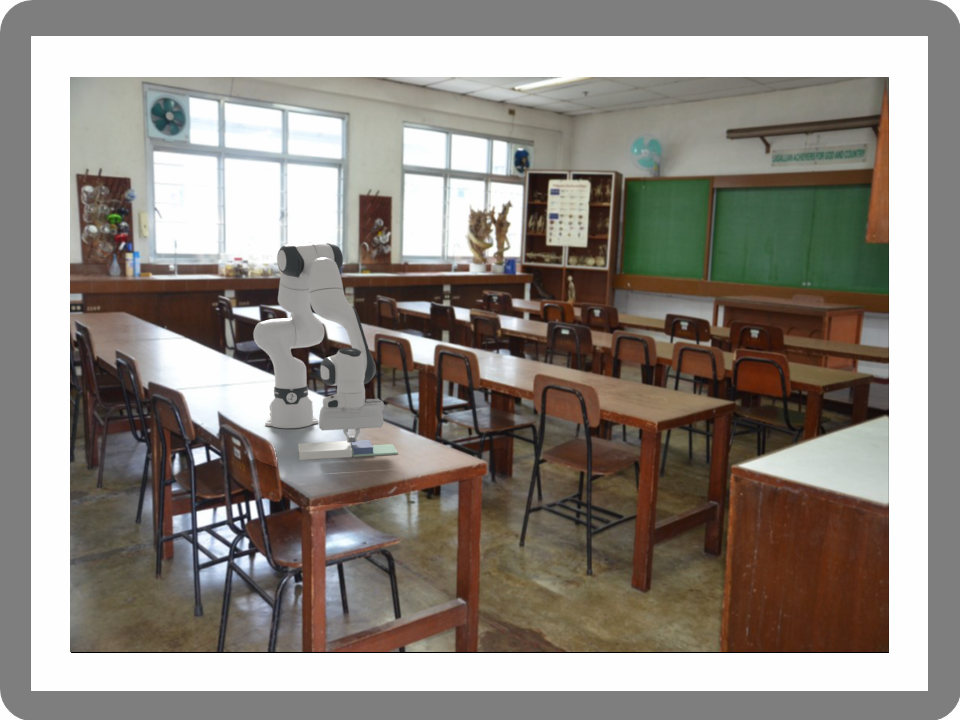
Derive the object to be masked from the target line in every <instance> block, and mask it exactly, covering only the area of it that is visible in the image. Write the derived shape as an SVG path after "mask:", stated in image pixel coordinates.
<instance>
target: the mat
mask: <svg viewBox="0 0 960 720" xmlns="http://www.w3.org/2000/svg"><path fill="white" fill-rule="evenodd" d="M372 446H373V453H370V454H354V453H353V451H352V457H353V458H355V457H356V458H357V457H375V456H376V457H377V456H390V455H391V456H392V455H398V454H399V452H398V450H397V449H396V447H395V445H394V444H393V443H390V444H389V443H388V444H372Z"/></svg>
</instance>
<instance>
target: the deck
mask: <svg viewBox="0 0 960 720" xmlns="http://www.w3.org/2000/svg"><path fill="white" fill-rule="evenodd" d="M297 446H298V458H299V461H305V460H308V461H309V460H319V459H320V460H324V459H340V458H341V459H342V458H352V457H353V454H352V448H351V443H347V440H341V441H323V442H305V443H298V445H297Z"/></svg>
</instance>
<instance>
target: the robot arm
mask: <svg viewBox="0 0 960 720" xmlns="http://www.w3.org/2000/svg"><path fill="white" fill-rule="evenodd" d="M276 257H277V259H276V260H277V261H276V262H277V263H276V264H277V266H278V269H279V271H280V272H281V273H280V278H279V285H278V295H277V303H278V305H279V306H280V307H281V309H283V310H285V311H286V312H288V313H290V316H289V317H287V318H285V317H283V318H271V319H270V318H269V319H267V320H262V321H259V322H258V323H257V324H256V325H255V328H254V329H253V333H252V334H253V340H254V342H255V344H256V346H257V347H258V348H259V349H261V350H262V351H263V352H264V353H265V354H267V355H268V357H269V358H270V361H271V362H272V365H273V371H274V382H275V384H274V385H275V386H274V387H273V393H274V395H273V396H274V399H273V400H272V401H271V402H270V404H269V411H270V413H269V418H268V419H267V420H266V421H265V424H264V425H265V427H266V426H267V427H274V428H279V429H299V428H305V427H309V426H311V425H315V424H318V428H319V429H320V430H321V431H341V430H342V432H343V434H344V435H345V437H346V441H347V443H350V444H351V442H356V441H357V437H358V436H359V435H360V432H361V431H360V430H361V429H374V428H375V429H377V428H379V429H381V428H382V427H383V426H384V415H383V411H384V408H385V404H384V403H385V402H384V401H382V400H381V399H380V398H366V388H365V385H366V384H369V383H370V381H372V379H373V378H374V376H376V371H377V367H376V362H375V359H374V358H373V355H372V353H371V351H370V349H369V348H370V347H369V346H368V342H367V339H366V335H365V332H364V329H363V326H362V322H361V320H360V316H359V314H358V312H357V309H356V308H355V307H354V306H353V305H352V304H350V303H349V302H348V299H347V298H346V295H345V291H344V286H343V280H342V276H341V273H340V271H341V269H342V268H343V267H342V266H343V263H344V257H343V251H342V250H341V248H340V247H339V246H338V245H336V244H333V243H328V242H327V243H320V242H308V243H297V244H293V243H289V244H284V245H282V246H281V247H280V248H279V250H278V251H277V256H276ZM313 311H314V312H315V314H316V315H317V316H319V317H320V318H322V319H325V320H327V321H331V322H333V323H335V324H338V325H340V326H341V327H342V328H344V330H345V331H346V333H347V336H348V339H349V342H350V345H351V347H343V348H342V347H341V348H340V349H338V351H337V352H336V354H334V355H333V354H332V355H331V356H328V357H324V359H323V360H322V361H321V362H320V365H319V376H320V377H319V378H320V380H321V381H323V383H324V384H325V385H327V386H336V387H337V388H336V393H335V394H332V395H329V396H325V397H324V398H323V399H322V407H320V408H321V409H320V411H319V419H318V418H316V417H315V416H314V411H313V410H314V409H313V407H314V406H313V401H312V400H311V399H310V398H309V387H308V386H309V385H308V384H307V366H306V364H305V363H304V361H303V360H301V359H299V358H297V357H294V356H293V354H292V351H291V350H292V349H301V348H309V347H314V346H316V345H319V344H320V343H322V342H323V340H324V338H325V327H324V324H323V323H322V321H321V320H320V319H319V318H317V317H316V316H315V314H313V313H314V312H313ZM349 430H354V431H355V433H354V435H349V434H348V433H349Z"/></svg>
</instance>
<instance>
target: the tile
mask: <svg viewBox="0 0 960 720" xmlns="http://www.w3.org/2000/svg"><path fill="white" fill-rule="evenodd" d="M372 445H373V444H372V442H371V440H370V439H363V440H362V439H361V440H356V442H351V443H350V446H351V448H352V451H353V453H354V454H370V453H373V446H372Z"/></svg>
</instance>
